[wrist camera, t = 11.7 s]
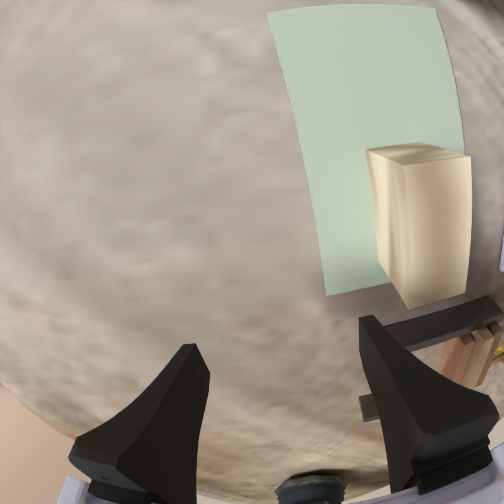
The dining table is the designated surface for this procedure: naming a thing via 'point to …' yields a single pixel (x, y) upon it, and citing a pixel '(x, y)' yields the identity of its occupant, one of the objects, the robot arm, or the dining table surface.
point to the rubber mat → (361, 114)
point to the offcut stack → (470, 356)
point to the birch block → (422, 219)
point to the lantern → (312, 490)
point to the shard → (499, 355)
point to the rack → (437, 333)
